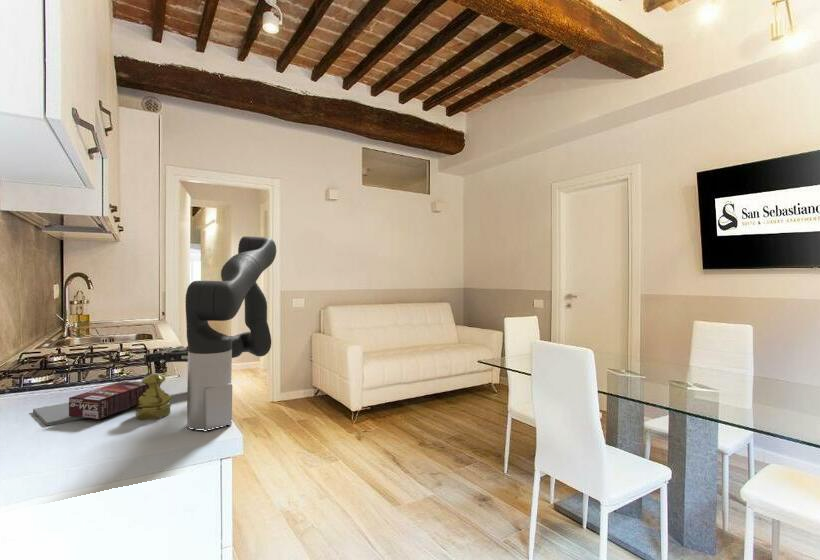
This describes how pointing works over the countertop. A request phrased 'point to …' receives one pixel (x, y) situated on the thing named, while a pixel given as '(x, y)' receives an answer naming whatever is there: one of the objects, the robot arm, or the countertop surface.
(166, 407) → the brass knobbed piece
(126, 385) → the supplement box
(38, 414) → the rubber mat
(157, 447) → the countertop surface
